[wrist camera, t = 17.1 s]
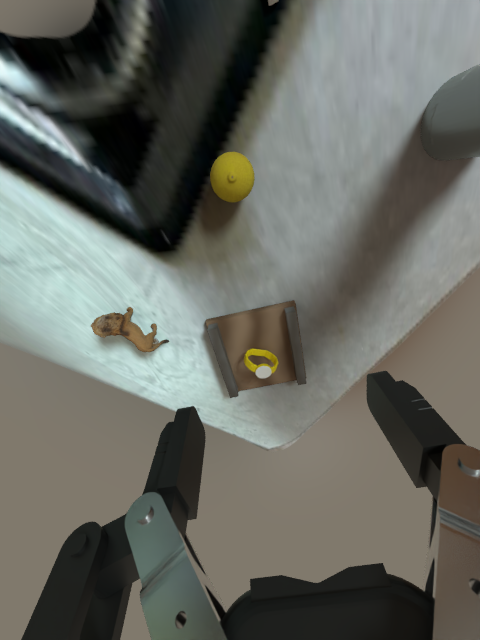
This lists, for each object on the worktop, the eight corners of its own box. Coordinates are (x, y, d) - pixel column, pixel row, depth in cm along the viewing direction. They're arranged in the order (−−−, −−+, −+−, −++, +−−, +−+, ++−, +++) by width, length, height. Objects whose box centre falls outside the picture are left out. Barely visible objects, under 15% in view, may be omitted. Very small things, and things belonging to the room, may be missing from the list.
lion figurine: (104, 314, 45) (82, 336, 39) (114, 296, 44) (93, 316, 37) (164, 347, 49) (153, 372, 42) (175, 331, 47) (166, 354, 41)
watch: (242, 355, 48) (243, 376, 43) (245, 343, 47) (246, 363, 42) (272, 360, 49) (277, 381, 44) (276, 348, 48) (282, 368, 42)
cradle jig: (294, 300, 44) (298, 308, 42) (304, 374, 52) (308, 385, 49) (206, 319, 46) (204, 328, 43) (229, 388, 54) (229, 399, 51)
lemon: (249, 202, 37) (253, 206, 30) (211, 198, 37) (206, 201, 30) (254, 158, 34) (260, 151, 27) (214, 152, 34) (208, 144, 27)
